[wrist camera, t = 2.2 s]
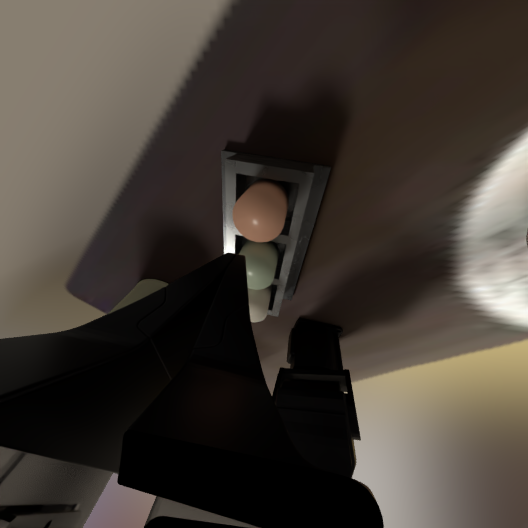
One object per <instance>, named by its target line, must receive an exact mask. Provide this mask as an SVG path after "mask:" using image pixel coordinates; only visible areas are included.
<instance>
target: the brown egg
mask: <svg viewBox="0 0 528 528" xmlns="http://www.w3.org/2000/svg"><path fill="white" fill-rule="evenodd" d="M288 205H289V199H288V194H287V192H286V190H285V188H284V187H283V186H282V185H281V184H280V183H279V182H277V181H275V180H272V179H260V180H257V181H256V182H254V183H253V184H252V185H251V186H250V187H249V188H248V189H247V190H246V191H245V192H244V194H243V195H242V196H241V197H240V198H239V199H238V200H237V202H236V203H235V205H234V208H233V214H232V215H233V222H234V225H235V227H236V228H237V230H238V231H239V232H240V233H241V235H243V236H244V237H245V238H247V239H249V240H251V241H254V242H268V241H271V240H273V239H274V238H276V237H277V236H278V235H279V234H280V233H281V231H282V229H283V227H284V223H285V218H286V214H287V209H288Z"/></svg>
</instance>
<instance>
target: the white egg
mask: <svg viewBox="0 0 528 528" xmlns="http://www.w3.org/2000/svg"><path fill="white" fill-rule="evenodd" d="M271 293H272V286H271V285H270V286H268V287H266V288H264V289H259V290H255V289H249V288H248V297H249V309H250V319H251V322H260V321H262V320H264V319H265V318H266V316H267V312H268V307H269V302H270V297H271Z"/></svg>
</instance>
